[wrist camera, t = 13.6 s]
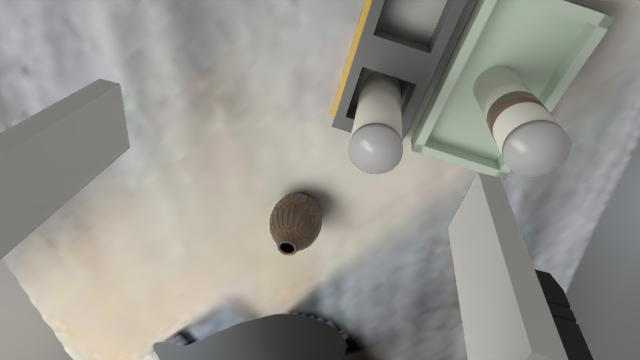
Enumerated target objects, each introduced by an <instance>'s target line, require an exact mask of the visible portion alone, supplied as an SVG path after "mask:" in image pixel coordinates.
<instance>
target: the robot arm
mask: <svg viewBox="0 0 640 360" xmlns="http://www.w3.org/2000/svg"><path fill="white" fill-rule="evenodd" d="M129 148H130V145H129V138H128V132H127V126H126V119H125V113H124V106H123V100H122V93H121V87H120V84H119V83H115V82H111V81H107V80H103V79H99V80H97V81H95V82H93V83H91V84H89V85H88V86H86V87H84V88H82V89H80V90H79V91H77V92H75V93H73V94H71V95H69V96H68V97H66V98H64V99H62V100H60V101H59V102H57V103H55V104H53V105H51V106H49V107H48V108H46V109H44V110H42V111H40V112H39V113H37V114H35V115H33V116H31V117H29V118H28V119H26V120H24V121H22V122H20V123H18V124H17V125H15V126H13V127H11V128H9V129H8V130H6V131H4V132H2V133H0V259H2V258H3V257H4V256H5V255H6V254H7V253H9V252H10V251H11V250H12V249H13V248H14V247H15V246H17V245H18V244H19V243H20V242H21V241H22V240H24V239H25V238H26V237H27V236H28V235H29V234H31V233H32V232H33V231H34V230H35V229H36V228H37V227H39V226H40V225H41V224H42V223H43V222H44V221H46V220H47V219H48V218H49V217H50V216H51V215H52V214H54V213H55V212H56V211H57V210H58V209H59V208H61V207H62V206H63V205H64V204H65V203H66V202H68V201H69V200H70V199H71V198H72V197H73V196H74V195H76V194H77V193H78V192H79V191H80V190H81V189H83V188H84V187H85V186H86V185H87V184H88V183H90V182H91V181H92V180H93V179H94V178H95V177H96V176H98V175H99V174H100V173H101V172H102V171H103V170H105V169H106V168H107V167H108V166H109V165H110V164H112V163H113V162H114V161H115V160H116V159H117V158H118V157H120V156H121V155H122V154H123V153H124V152H125V151H127V150H128V149H129ZM448 230H449V237H450V243H451V250H452V257H453V263H454V270H455V277H456V283H457V290H458V297H459V303H460V310H461V317H462V323H463V330H464V337H465V343H466V350H467V357H468V360H593V358H592V356H591V353H590V351H589V349H588V346H587V344H586V342H585V340H584V337H583V335H582V332H581V330H580V328H579V325H578V324H576V319H575V317H574V314H573V312H572V310H570V305H569V302H568V300H567V298H566V295H565V293H564V291H563V289H562V288H561V287H560V285H559V284H558V283H557V282H556V280H555V279H554V278H553V277H552V276H551V274H550V273H546V272H542V271H539V270H535V269H534V267H533V264H532V261H531V259H530V256H529V253H528V251H527V248H526V245H525V243H524V240H523V237H522V235H521V232H520V229H519V227H518V224H517V221H516V219H515V216H514V213H513V211H512V208H511V205H510V203H509V200H508V197H507V195H506V192H505V189H504V187H503V184H502V181H501V179H500V178H499V177H495V176H491V175H487V174H483V173H479V172H478V174H477V176H476V178H475V180H474V181H473V183H472V185H471V187H470V189H469V191H468V193H467V194H466V196H465V198H464V200H463V202H462V204H461V205H460V207H459V209H458V211H457V213H456V215H455V217H454V218H453V220H452V222H451V224H450V226H449V228H448Z"/></svg>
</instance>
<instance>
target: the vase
mask: <svg viewBox="0 0 640 360" xmlns="http://www.w3.org/2000/svg"><path fill="white" fill-rule="evenodd" d="M321 226H322V213H321V209H320V207H319V205H318V204H317V202H316V201H315V200H314V199H313V198H311V197H310V196H308V195H305V194H301V193H294V194H290V195H287V196H285V197H284V198H282V199H281V200H280V201H279V202H278V203H277V204H276V206H275V207H274V209H273V211H272V214H271V217H270V232H271V235H272V237H273V239H274V241H275V242H276V244H277V247H278V250H279V251H280V252H281V253H282V254H284V255H293V254H295V253H296V252H297V251H300V250H303V249H305V248H307V247H309V246H310V245H311V244H312V243H313V242H314V241H315V240H316V238H317V237H318V235H319V233H320V230H321Z"/></svg>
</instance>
